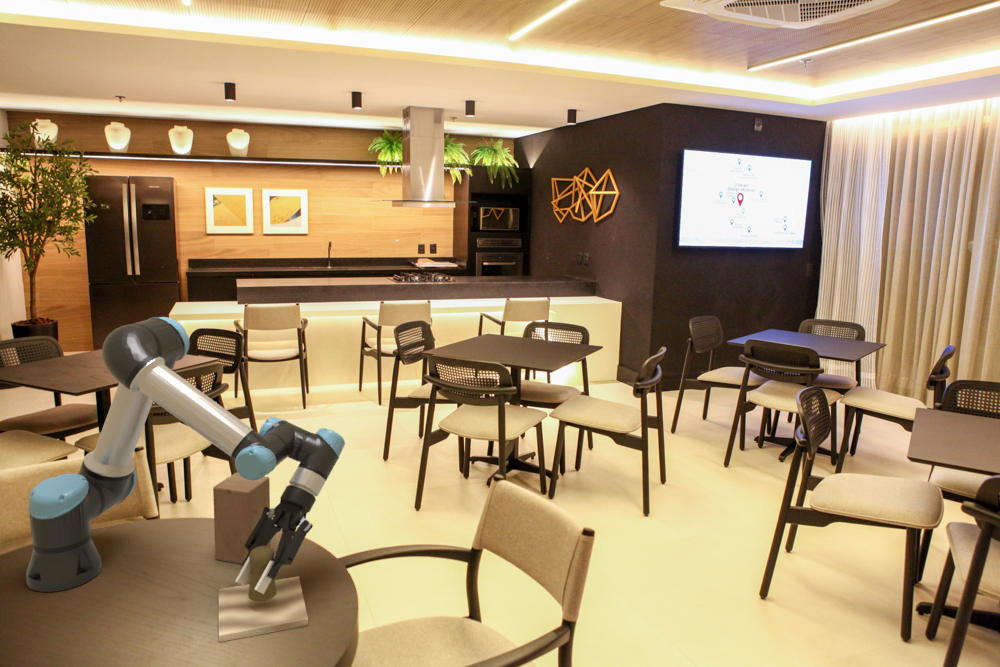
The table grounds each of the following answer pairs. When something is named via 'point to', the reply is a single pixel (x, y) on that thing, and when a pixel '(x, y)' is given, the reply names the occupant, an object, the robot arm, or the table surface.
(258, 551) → the olive pawn
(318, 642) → the table surface
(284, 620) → the birch board
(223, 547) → the wooden block
